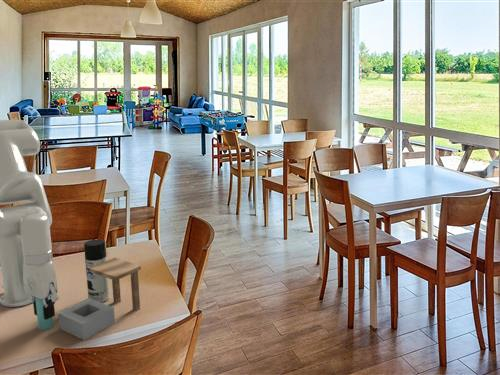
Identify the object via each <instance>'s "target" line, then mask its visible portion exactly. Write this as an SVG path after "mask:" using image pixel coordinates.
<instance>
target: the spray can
mask: <svg viewBox="0 0 500 375" xmlns="http://www.w3.org/2000/svg"><path fill="white" fill-rule="evenodd" d="M106 246H107V244H106V241H105V240H103V239H101V238H98V239H90V240H87V241H85V242H84V244H83V247H84V262H85V272H86V285H87V286H86V287H87V296H88V298H87V299H89V298H91V299H93V300H96V301H98V302H101V303H103V304H104V303H106V302H107V301H108V300H109V299H110V287H109V278H106V277H103V276H100V275H98V274H95V273H92V272H89V268H90V267H93V266H95V265H98V264H100V263H103V262H105V261H108V260H107V259H108V258H107V248H106Z"/></svg>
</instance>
